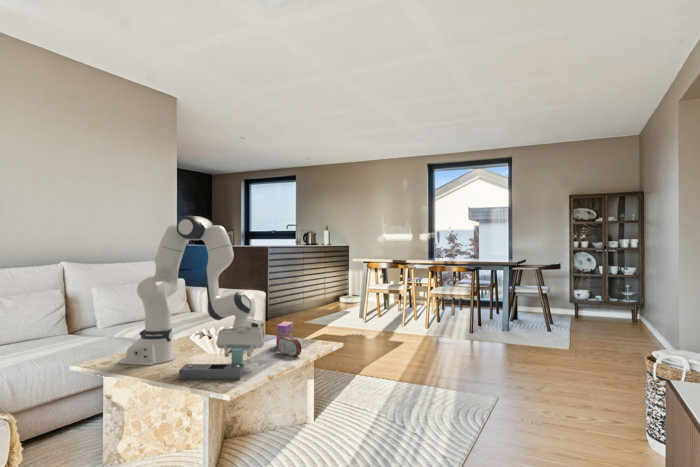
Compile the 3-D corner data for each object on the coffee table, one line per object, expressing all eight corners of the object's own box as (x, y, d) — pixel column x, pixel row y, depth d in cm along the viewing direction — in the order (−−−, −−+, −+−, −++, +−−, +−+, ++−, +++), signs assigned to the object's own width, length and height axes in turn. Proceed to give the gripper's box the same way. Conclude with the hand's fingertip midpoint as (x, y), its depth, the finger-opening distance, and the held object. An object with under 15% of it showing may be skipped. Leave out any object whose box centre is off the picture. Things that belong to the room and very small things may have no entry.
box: (286, 348, 218) (286, 325, 219) (276, 347, 219) (276, 325, 220) (293, 343, 229) (293, 321, 229) (283, 343, 230) (283, 321, 230)
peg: (231, 371, 179) (231, 350, 179) (233, 368, 183) (233, 347, 183) (240, 371, 179) (241, 350, 180) (242, 368, 183) (243, 347, 184)
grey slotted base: (179, 380, 167) (179, 368, 167) (185, 373, 175) (186, 363, 175) (240, 379, 168) (240, 368, 169) (244, 373, 176) (244, 362, 177)
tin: (301, 357, 202) (302, 339, 203) (296, 358, 200) (297, 340, 200) (281, 351, 212) (282, 334, 213) (276, 352, 210) (277, 335, 210)
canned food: (249, 348, 217) (249, 325, 217) (238, 344, 226) (238, 322, 226) (267, 345, 225) (268, 322, 225) (257, 341, 233) (257, 319, 233)
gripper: (218, 324, 189) (211, 352, 179) (264, 324, 190) (260, 352, 180) (220, 332, 193) (214, 359, 183) (265, 332, 194) (262, 359, 184)
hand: (237, 356), depth 182 cm, fingers open, 8 cm apart
